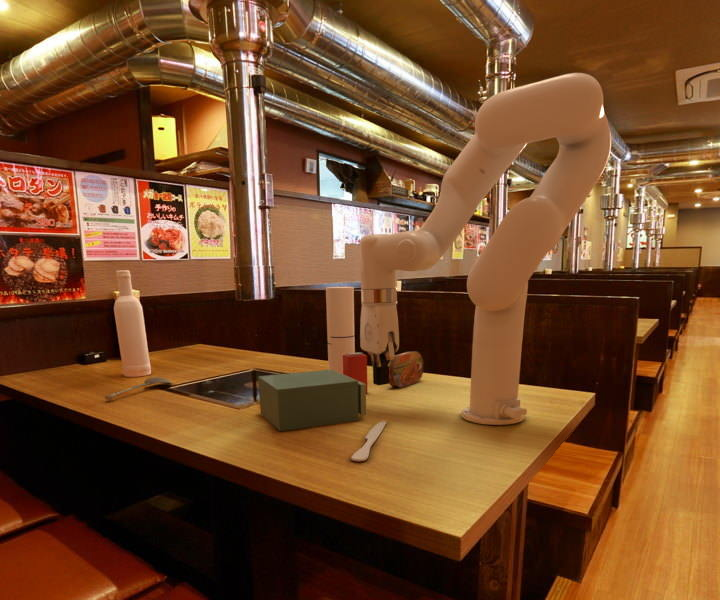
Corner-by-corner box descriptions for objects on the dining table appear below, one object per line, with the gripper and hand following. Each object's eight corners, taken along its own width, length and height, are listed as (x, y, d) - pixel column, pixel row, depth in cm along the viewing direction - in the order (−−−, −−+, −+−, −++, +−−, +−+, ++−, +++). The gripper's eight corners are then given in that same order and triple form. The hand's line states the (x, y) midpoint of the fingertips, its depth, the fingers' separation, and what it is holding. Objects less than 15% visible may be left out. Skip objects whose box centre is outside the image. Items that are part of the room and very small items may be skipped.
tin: (394, 390, 141) (394, 357, 139) (383, 388, 143) (383, 356, 141) (424, 380, 153) (425, 349, 150) (414, 379, 155) (415, 348, 152)
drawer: (346, 400, 128) (345, 372, 126) (371, 413, 116) (371, 383, 114) (275, 408, 121) (273, 379, 119) (294, 423, 109) (292, 392, 107)
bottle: (145, 377, 164) (130, 270, 155) (119, 377, 164) (102, 270, 155) (155, 372, 172) (141, 270, 162) (130, 372, 172) (115, 270, 162)
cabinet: (332, 405, 127) (331, 369, 125) (358, 420, 114) (358, 380, 112) (260, 414, 121) (257, 376, 118) (279, 431, 108) (277, 389, 105)
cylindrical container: (345, 386, 147) (343, 288, 139) (323, 383, 150) (320, 287, 142) (360, 381, 152) (358, 286, 144) (338, 379, 156) (336, 286, 148)
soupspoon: (178, 387, 153) (159, 386, 155) (176, 374, 152) (157, 374, 154) (118, 402, 133) (97, 401, 135) (115, 388, 132) (94, 387, 135)
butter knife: (347, 458, 90) (365, 459, 90) (377, 420, 113) (391, 420, 112) (347, 461, 91) (365, 462, 90) (377, 422, 113) (391, 422, 112)
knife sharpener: (367, 393, 138) (367, 353, 135) (349, 396, 136) (348, 355, 133) (361, 391, 141) (361, 351, 138) (343, 393, 139) (342, 353, 136)
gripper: (348, 297, 121) (352, 380, 127) (379, 299, 108) (381, 392, 114) (379, 295, 124) (381, 377, 130) (412, 297, 111) (413, 387, 117)
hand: (381, 383), depth 122 cm, fingers closed
